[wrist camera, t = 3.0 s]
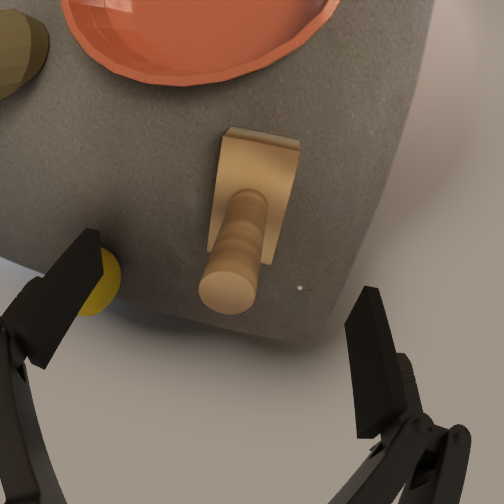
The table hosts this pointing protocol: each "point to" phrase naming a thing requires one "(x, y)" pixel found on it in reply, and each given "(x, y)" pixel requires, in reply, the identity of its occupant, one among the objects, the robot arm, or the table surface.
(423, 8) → the table surface
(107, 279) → the lemon
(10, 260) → the table surface
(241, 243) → the wooden peg stand
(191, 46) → the terracotta bowl
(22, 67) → the squeeze bottle
